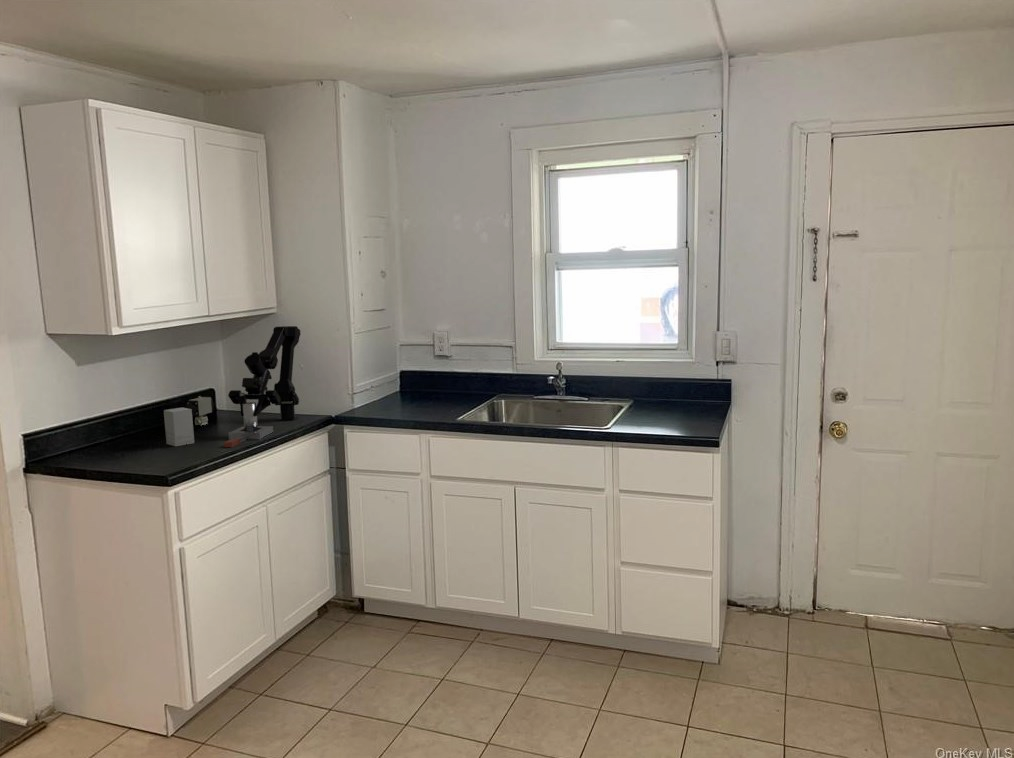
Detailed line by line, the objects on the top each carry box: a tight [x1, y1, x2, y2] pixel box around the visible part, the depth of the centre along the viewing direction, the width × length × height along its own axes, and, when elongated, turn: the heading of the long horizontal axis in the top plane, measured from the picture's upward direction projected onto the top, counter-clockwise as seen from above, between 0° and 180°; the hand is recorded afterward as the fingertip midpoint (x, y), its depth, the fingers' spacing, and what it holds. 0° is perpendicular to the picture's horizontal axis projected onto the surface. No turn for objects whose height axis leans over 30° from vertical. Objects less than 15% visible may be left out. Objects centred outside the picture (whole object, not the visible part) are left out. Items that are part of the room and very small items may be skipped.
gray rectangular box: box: [223, 425, 274, 448], centre depth 288 cm, size 25×12×2 cm, turn 174°
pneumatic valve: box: [185, 395, 215, 427], centre depth 318 cm, size 6×12×12 cm, turn 162°
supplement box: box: [163, 407, 195, 447], centre depth 284 cm, size 7×7×13 cm
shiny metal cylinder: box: [242, 401, 259, 431], centre depth 294 cm, size 5×5×11 cm
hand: (248, 415), depth 293 cm, fingers closed on shiny metal cylinder, 5 cm apart
